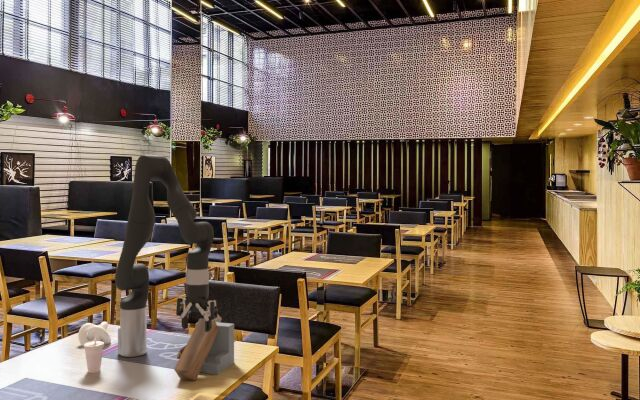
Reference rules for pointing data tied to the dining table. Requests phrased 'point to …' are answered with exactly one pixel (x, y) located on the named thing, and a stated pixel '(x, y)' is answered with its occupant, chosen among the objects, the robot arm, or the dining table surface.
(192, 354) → the rail
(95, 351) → the smoothie
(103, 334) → the cream rounded lobed piece
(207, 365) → the bracket
